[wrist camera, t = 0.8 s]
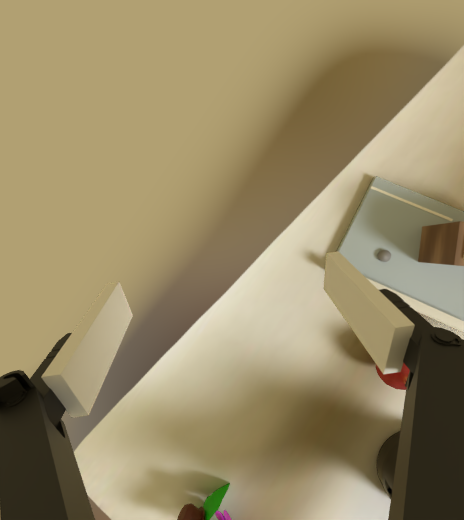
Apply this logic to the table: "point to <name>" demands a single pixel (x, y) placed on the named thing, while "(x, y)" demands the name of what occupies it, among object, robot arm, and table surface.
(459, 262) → the frame
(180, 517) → the potted plant
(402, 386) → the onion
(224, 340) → the table surface
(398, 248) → the wall panel
